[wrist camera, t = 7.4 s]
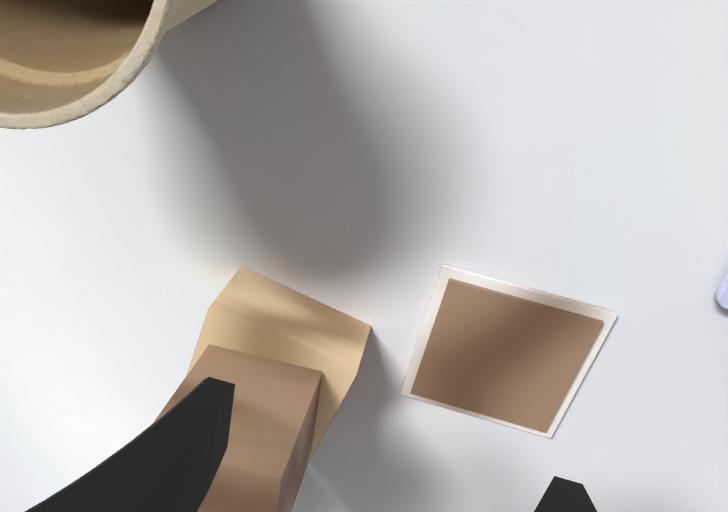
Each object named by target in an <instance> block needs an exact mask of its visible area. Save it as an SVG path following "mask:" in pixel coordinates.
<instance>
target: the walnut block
mask: <svg viewBox="0 0 728 512" xmlns="http://www.w3.org/2000/svg"><path fill="white" fill-rule="evenodd" d="M208 377H212V378H216V379H219V380H223V381H226V382H230V383H233V384H235V391H234V399H233V407H232V415H231V423H230V431H229V439H228V447H227V449H226V452H225V454H224V456H223V459H222V461H221V464H220V466H219V468H218V471H217V473H216V475H215V477H214V480H213V482H212V484H211V487H210V489H209V491H208V493H207V495H206V496H205V498H204V500H203V502H202V504H201V505H200V507H199V509H198V511H197V512H291V510H292V507H293V504H294V501H295V498H296V495H297V493H298V490H299V487H300V484H301V481H302V478H303V475H304V472H305V469H306V466H307V464H308V461H309V458H310V455H311V450H312V443H313V436H314V428H315V421H316V414H317V407H318V400H319V393H320V386H321V379H322V371H318V370H314V369H310V368H306V367H302V366H298V365H294V364H289V363H285V362H281V361H277V360H273V359H269V358H265V357H260V356H256V355H252V354H248V353H244V352H240V351H236V350H231V349H227V348H223V347H219V346H215V345H211V344H209V345H208V346H207V348H206V349H205V351H204V352H203V353H202V355H201V356H200V358H199V359H198V361H197V362H196V363H195V365H194V366H193V368H192V369H191V371H190V372H189V373H188V375H187V376H186V378H185V379H184V380H183V382H182V383H181V385H180V386H179V388H178V389H177V390H176V392H175V393H174V395H173V396H172V397H171V399H170V400H169V402H168V403H167V405H166V406H165V407H164V409H163V410H162V412H161V413H160V415H159V416H158V417H157V419H156V420H155V422H156V421H157V420H158V419H160V418H161V417H162V416H163V415H164V414H166V413H167V412H168V411H169V410H170V409H171V408H173V407H174V406H175V405H176V404H177V403H178V402H180V401H181V400H182V399H183V398H184V397H185V396H186V395H187V394H189V393H190V392H191V391H192V390H193V389H194V388H195V387H196V386H197V385H198V384H199V383H200V382H202V381H203V380H204V379H205V378H208ZM155 422H154V423H155Z"/></svg>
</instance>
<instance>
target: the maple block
mask: <svg viewBox="0 0 728 512" xmlns="http://www.w3.org/2000/svg"><path fill="white" fill-rule="evenodd" d="M370 328H371V325H368V324H366V323H364V322H362V321H360V320H357V319H355V318H353V317H351V316H349V315H346V314H344V313H342V312H340V311H338V310H336V309H333V308H331V307H329V306H327V305H325V304H322V303H320V302H318V301H316V300H314V299H311V298H309V297H307V296H305V295H303V294H301V293H298V292H296V291H294V290H292V289H290V288H287V287H285V286H283V285H281V284H279V283H276V282H274V281H272V280H270V279H268V278H265V277H263V276H261V275H259V274H257V273H255V272H252V271H250V270H248V269H246V268H244V267H240V269H239V270H238V271H237V272H236V274H235V275H234V276H233V278H232V279H231V280H230V281H229V283H228V284H227V285H226V287H225V288H224V289H223V291H222V292H221V293H220V294H219V296H218V297H217V298H216V300H215V301H214V302H213V303H212V305H211V306H210V307H209V309H208V311H207V315H206V318H205V321H204V324H203V327H202V330H201V333H200V336H199V339H198V342H197V345H196V348H195V351H194V354H193V357H192V360H191V364H190V367H189V370H188V373H189V372H190V371H191V369H192V368H193V366H194V365H195V363H196V362H197V361H198V359H199V358H200V356H201V355H202V353H203V352H204V351H205V349H206V348H207V346H208V345H209V344H211V345H215V346H219V347H223V348H227V349H231V350H236V351H240V352H244V353H248V354H252V355H256V356H260V357H265V358H269V359H273V360H277V361H281V362H285V363H289V364H294V365H298V366H302V367H306V368H310V369H314V370H318V371H322V379H321V386H320V393H319V400H318V407H317V414H316V421H315V428H314V436H313V443H312V450H311V455H310V458H311V457H312V455H313V453H314V451H315V449H316V448H317V446H318V444H319V442H320V440H321V439H322V437H323V435H324V433H325V431H326V429H327V428H328V426H329V424H330V422H331V420H332V419H333V417H334V415H335V413H336V411H337V410H338V408H339V406H340V404H341V402H342V401H343V399H344V397H345V395H346V393H347V391H348V390H349V388H350V386H351V384H352V382H353V381H354V379H355V377H356V375H357V371H358V368H359V365H360V361H361V358H362V355H363V351H364V348H365V345H366V341H367V338H368V335H369V332H370ZM188 373H187V375H188ZM310 458H309V460H310ZM308 462H309V461H308Z"/></svg>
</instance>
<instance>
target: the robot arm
mask: <svg viewBox="0 0 728 512" xmlns="http://www.w3.org/2000/svg"><path fill="white" fill-rule="evenodd" d="M715 298H716V300H717V301H718V303H719V304H720V305H721V307H723V308H725V309H728V272H727V274H726V275H725V277H724V278H723V280H722V281H721V283H720V285H719V286H718V288H717V289H716V292H715ZM234 391H235V384H233V383H230V382H226V381H223V380H219V379H216V378H212V377H208V378H205V379H204V380H203V381H202V382H200V383H199V384H198V385H197V386H196V387H195V388H194V389H193V390H192V391H191V392H190V393H189V394H187V395H186V396H185V397H184V398H183V399H182V400H181V401H180V402H178V403H177V404H176V405H175V406H174V407H173V408H171V409H170V410H169V411H168V412H167V413H166V414H164V415H163V416H162V417H161V418H160V419H158V420H157V421H156V422H155V423H153V424H152V425H151V426H150V427H148V428H147V429H146V430H145V431H143V432H142V433H141V434H140V435H138V436H137V437H136V438H135V439H133V440H132V441H131V442H129V443H128V444H127V445H125V446H124V447H123V448H121V449H120V450H119V451H117V452H116V453H114V454H113V455H112V456H110V457H109V458H107V459H106V460H105V461H103V462H102V463H101V464H99V465H98V466H96V467H95V468H94V469H92V470H91V471H89V472H88V473H86V474H85V475H83V476H82V477H80V478H79V479H77V480H76V481H74V482H73V483H71V484H70V485H68V486H67V487H65V488H63V489H62V490H60V491H59V492H57V493H55V494H54V495H52V496H51V497H49V498H47V499H46V500H44V501H42V502H41V503H39V504H37V505H35V506H34V507H32V508H30V509H28V510H27V511H25V512H197V511H198V509H199V507H200V505H201V504H202V502H203V500H204V498H205V496H206V495H207V493H208V491H209V489H210V487H211V484H212V482H213V480H214V477H215V475H216V473H217V471H218V468H219V466H220V464H221V461H222V459H223V456H224V454H225V452H226V449H227V447H228V439H229V431H230V423H231V415H232V407H233V399H234ZM534 512H597V511H596V509H595V507H594V505H593V503H592V501H591V499H590V497H589V495H588V494H587V492H586V490H585V488H584V486H583V484H580V483H577V482H573V481H570V480H566V479H563V478H559V477H556V476H554V478H553V480H552V481H551V483H550V485H549V487H548V488H547V490H546V492H545V494H544V495H543V497H542V499H541V501H540V502H539V504H538V506H537V507H536V509H535V511H534Z"/></svg>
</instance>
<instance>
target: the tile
mask: <svg viewBox="0 0 728 512" xmlns="http://www.w3.org/2000/svg"><path fill="white" fill-rule="evenodd" d="M617 316H618V314H617V312H614V311H610V310H607V309H603V308H599V307H596V306H592V305H589V304H585V303H581V302H578V301H574V300H570V299H567V298H563V297H560V296H556V295H552V294H549V293H545V292H542V291H538V290H534V289H531V288H527V287H524V286H520V285H516V284H513V283H509V282H506V281H502V280H498V279H495V278H491V277H488V276H484V275H480V274H477V273H473V272H469V271H466V270H462V269H459V268H455V267H451V266H448V265H444V264H442V267H441V270H440V273H439V276H438V279H437V282H436V285H435V288H434V291H433V294H432V297H431V300H430V303H429V306H428V309H427V312H426V315H425V318H424V321H423V324H422V328H421V331H420V334H419V337H418V340H417V343H416V346H415V349H414V352H413V355H412V358H411V361H410V364H409V367H408V370H407V373H406V376H405V379H404V382H403V385H402V389H401V392H400V395H404V396H407V397H410V398H414V399H417V400H421V401H424V402H427V403H431V404H434V405H438V406H441V407H445V408H448V409H451V410H455V411H458V412H462V413H465V414H468V415H472V416H475V417H479V418H482V419H486V420H489V421H492V422H496V423H499V424H503V425H506V426H509V427H513V428H516V429H520V430H523V431H527V432H530V433H533V434H537V435H540V436H544V437H547V438H550V439H551V437H552V435H553V433H554V432H555V430H556V428H557V426H558V424H559V422H560V421H561V419H562V417H563V415H564V413H565V411H566V409H567V408H568V406H569V404H570V402H571V400H572V398H573V397H574V395H575V393H576V391H577V389H578V387H579V386H580V384H581V382H582V380H583V378H584V376H585V375H586V373H587V371H588V369H589V367H590V365H591V364H592V362H593V360H594V358H595V356H596V354H597V353H598V351H599V349H600V347H601V345H602V343H603V342H604V340H605V338H606V336H607V334H608V332H609V331H610V329H611V327H612V325H613V323H614V321H615V319H616V318H617Z"/></svg>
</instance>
